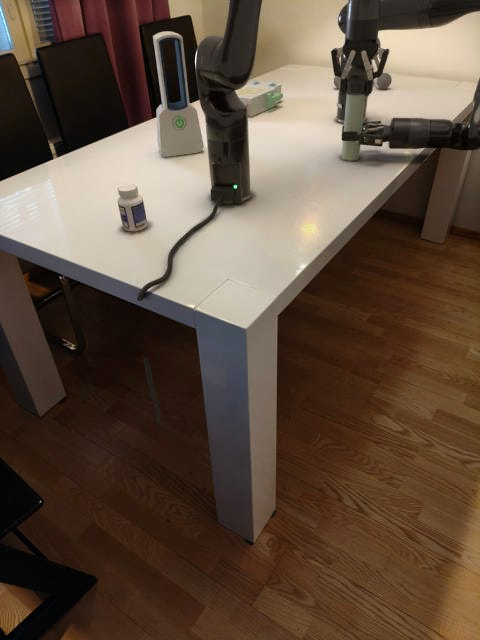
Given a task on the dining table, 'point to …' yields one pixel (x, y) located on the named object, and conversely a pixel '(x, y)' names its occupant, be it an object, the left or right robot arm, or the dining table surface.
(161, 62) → the electronic device
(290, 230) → the dining table surface
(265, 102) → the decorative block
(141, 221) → the pill bottle
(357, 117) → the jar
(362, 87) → the lid
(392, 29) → the right robot arm
